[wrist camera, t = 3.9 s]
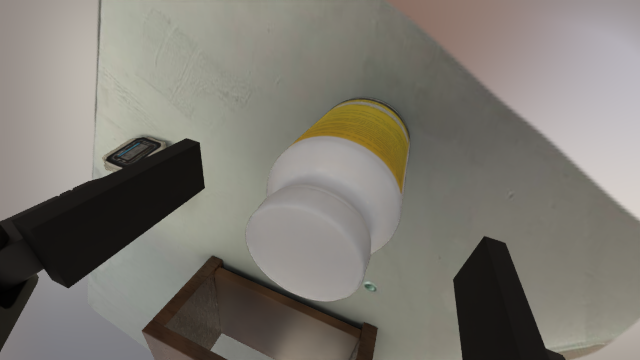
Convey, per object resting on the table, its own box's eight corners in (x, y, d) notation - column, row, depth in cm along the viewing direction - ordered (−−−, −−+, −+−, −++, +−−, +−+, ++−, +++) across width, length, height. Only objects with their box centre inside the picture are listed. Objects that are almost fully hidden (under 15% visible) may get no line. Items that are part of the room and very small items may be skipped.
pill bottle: (335, 81, 17) (225, 146, 8) (429, 115, 16) (431, 234, 7) (313, 161, 21) (221, 270, 12) (388, 192, 20) (354, 339, 11)
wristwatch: (193, 146, 25) (148, 170, 21) (204, 199, 28) (166, 228, 24) (122, 128, 27) (69, 146, 23) (140, 179, 30) (96, 202, 26)
